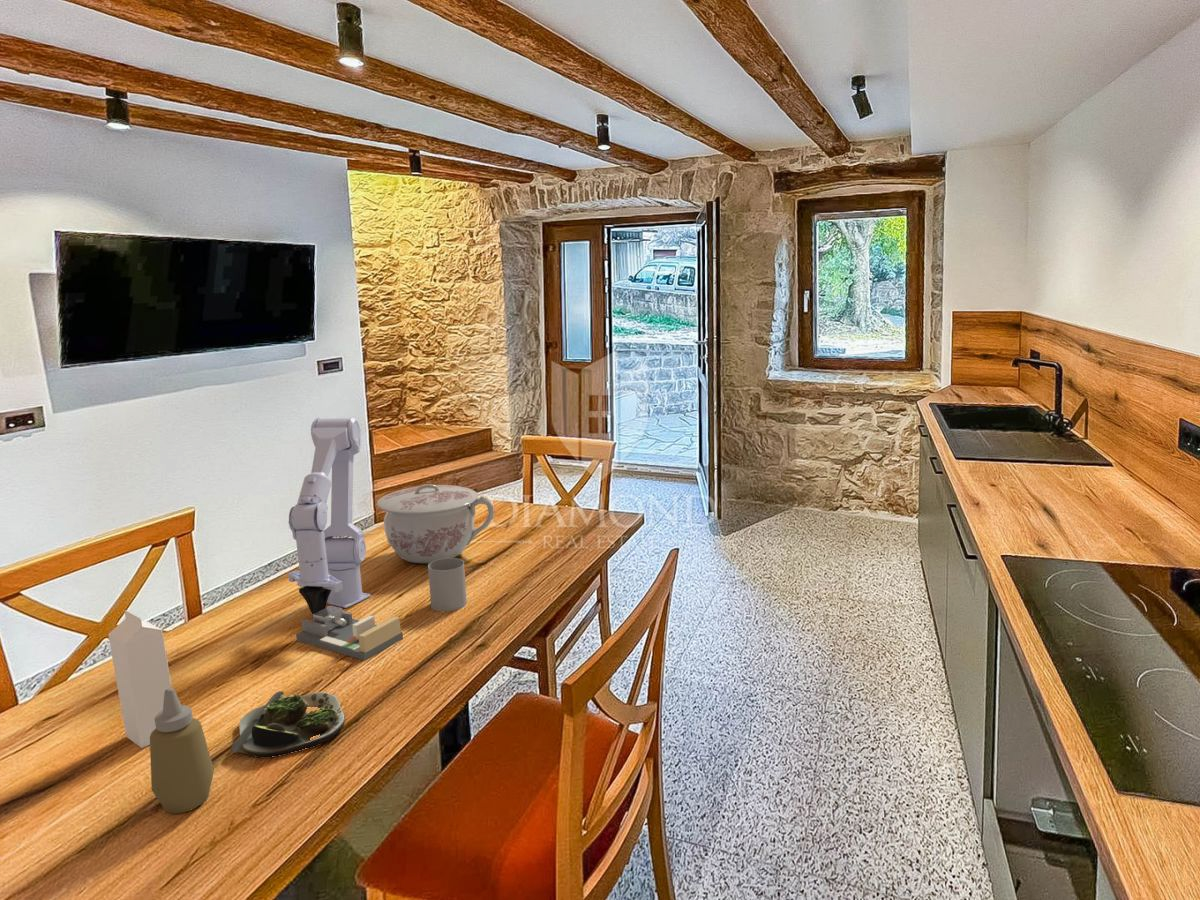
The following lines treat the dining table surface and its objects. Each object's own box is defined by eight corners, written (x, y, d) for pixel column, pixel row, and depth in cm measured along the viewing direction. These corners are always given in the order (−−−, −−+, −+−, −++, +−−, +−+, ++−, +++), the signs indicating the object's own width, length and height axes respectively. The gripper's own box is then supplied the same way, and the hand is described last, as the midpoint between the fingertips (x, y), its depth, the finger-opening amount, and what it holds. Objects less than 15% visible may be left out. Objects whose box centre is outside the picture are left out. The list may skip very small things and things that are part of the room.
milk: (162, 721, 134) (144, 603, 129) (179, 732, 130) (160, 611, 126) (125, 737, 129) (104, 615, 124) (141, 749, 125) (120, 624, 121)
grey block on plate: (314, 629, 164) (312, 614, 164) (332, 620, 169) (331, 605, 168) (335, 635, 161) (334, 619, 160) (353, 625, 165) (352, 610, 165)
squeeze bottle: (199, 777, 118) (183, 670, 114) (228, 796, 113) (212, 685, 109) (144, 807, 111) (125, 695, 107) (173, 827, 107) (154, 711, 103)
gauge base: (296, 640, 163) (294, 618, 162) (336, 620, 173) (334, 599, 172) (364, 660, 154) (362, 637, 153) (402, 638, 163) (401, 616, 162)
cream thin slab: (346, 642, 157) (344, 628, 156) (371, 628, 163) (370, 615, 162) (350, 643, 156) (348, 629, 156) (375, 629, 162) (374, 616, 162)
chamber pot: (360, 561, 210) (353, 488, 206) (434, 534, 232) (429, 467, 228) (431, 581, 194) (425, 503, 190) (503, 550, 216) (499, 479, 212)
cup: (458, 612, 175) (455, 571, 173) (425, 610, 177) (422, 569, 175) (471, 598, 183) (469, 558, 181) (439, 596, 185) (436, 557, 183)
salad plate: (231, 712, 137) (227, 688, 136) (335, 687, 144) (332, 665, 143) (232, 771, 120) (228, 745, 119) (350, 740, 127) (347, 715, 126)
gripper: (274, 558, 164) (281, 617, 167) (321, 569, 157) (327, 630, 160) (301, 548, 170) (307, 605, 173) (347, 558, 163) (353, 617, 166)
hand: (319, 616), depth 167 cm, fingers closed
